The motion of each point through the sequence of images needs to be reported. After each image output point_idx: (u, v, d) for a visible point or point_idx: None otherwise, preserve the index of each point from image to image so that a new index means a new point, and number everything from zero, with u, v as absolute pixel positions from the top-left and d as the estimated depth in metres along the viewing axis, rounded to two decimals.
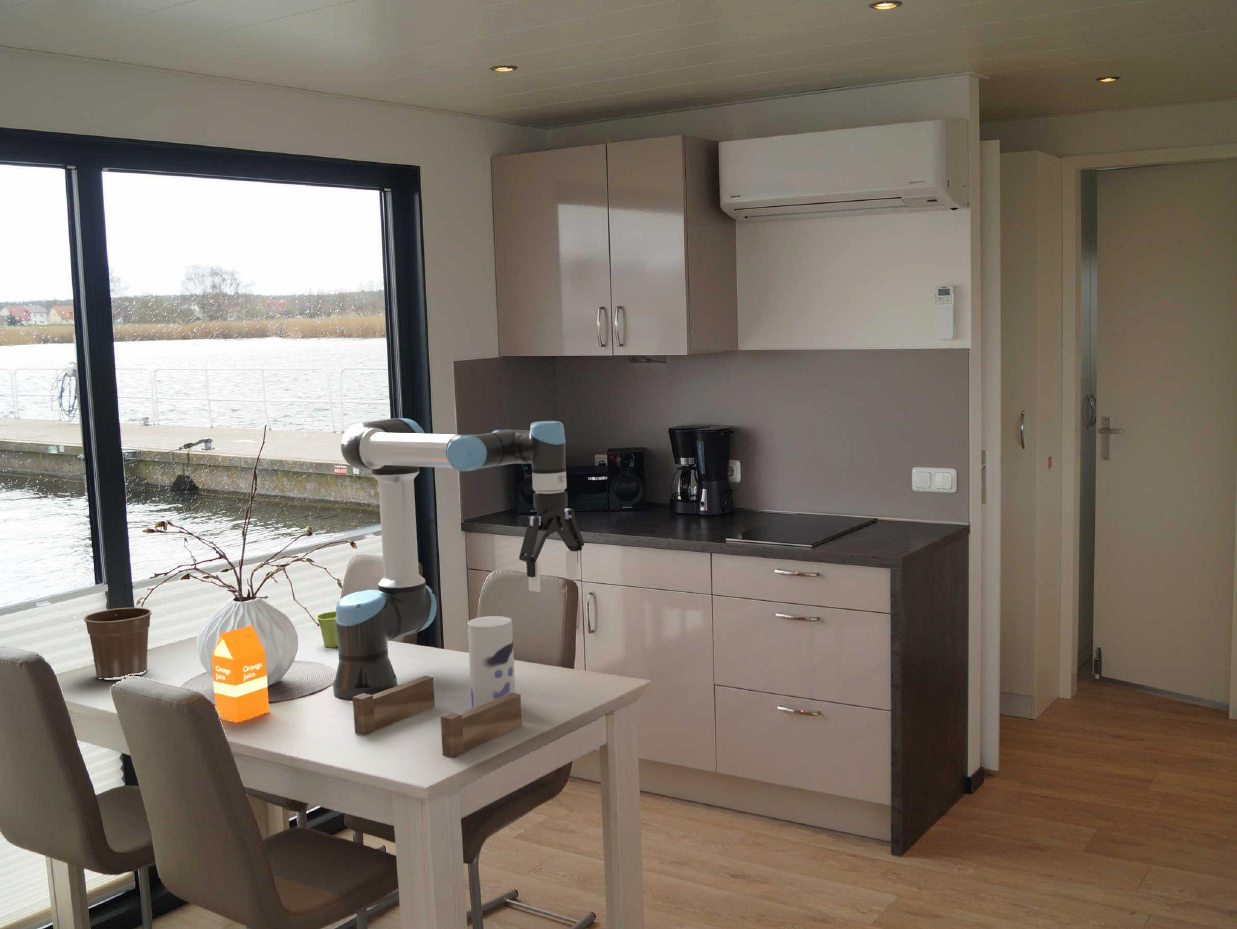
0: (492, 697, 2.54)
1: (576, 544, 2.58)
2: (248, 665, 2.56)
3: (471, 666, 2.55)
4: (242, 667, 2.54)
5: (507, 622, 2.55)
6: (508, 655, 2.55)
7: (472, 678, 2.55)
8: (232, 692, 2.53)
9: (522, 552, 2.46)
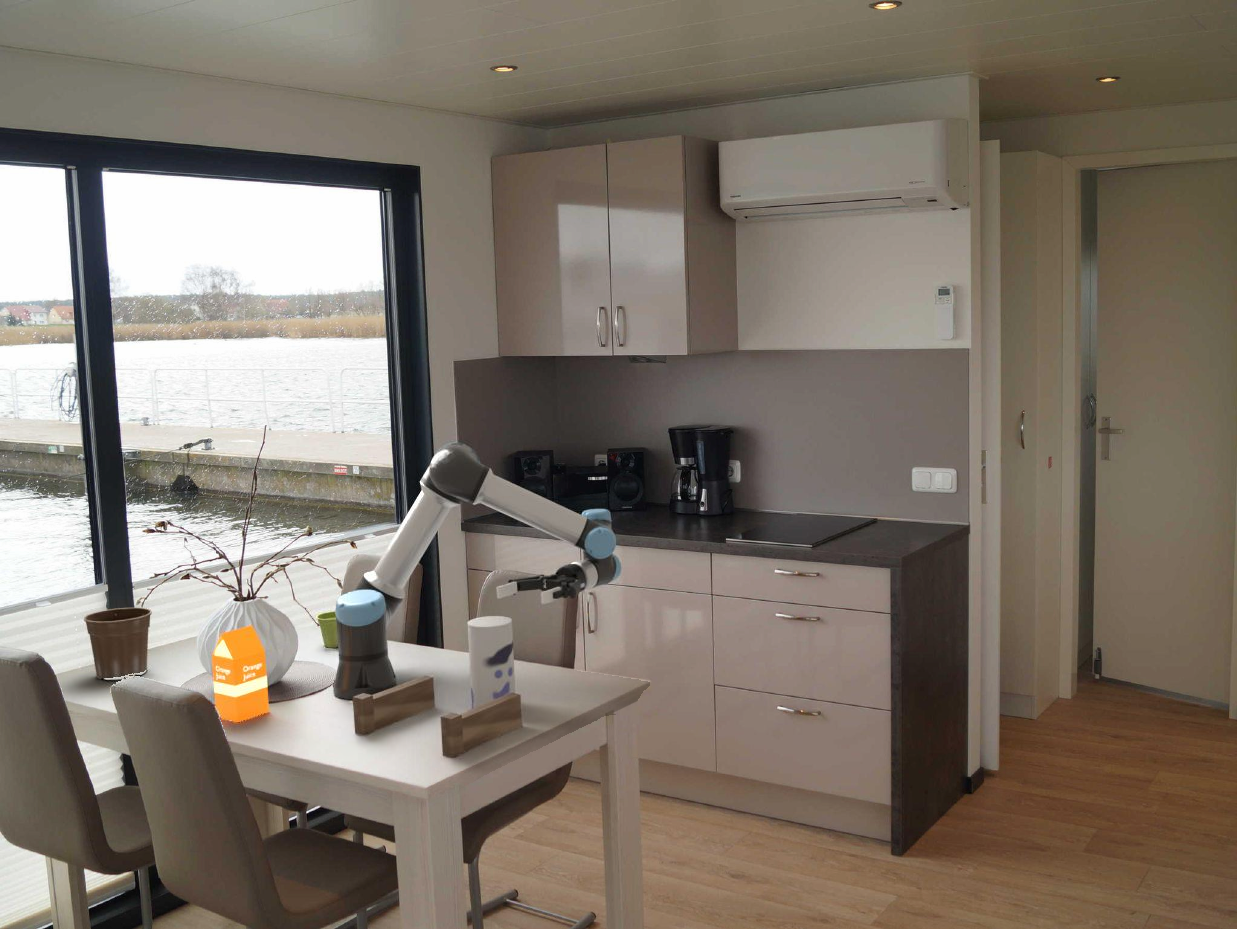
0: (492, 697, 2.54)
1: None
2: (248, 665, 2.56)
3: (471, 666, 2.55)
4: (242, 667, 2.54)
5: (507, 622, 2.55)
6: (508, 655, 2.55)
7: (472, 678, 2.55)
8: (232, 692, 2.53)
9: (575, 589, 2.66)
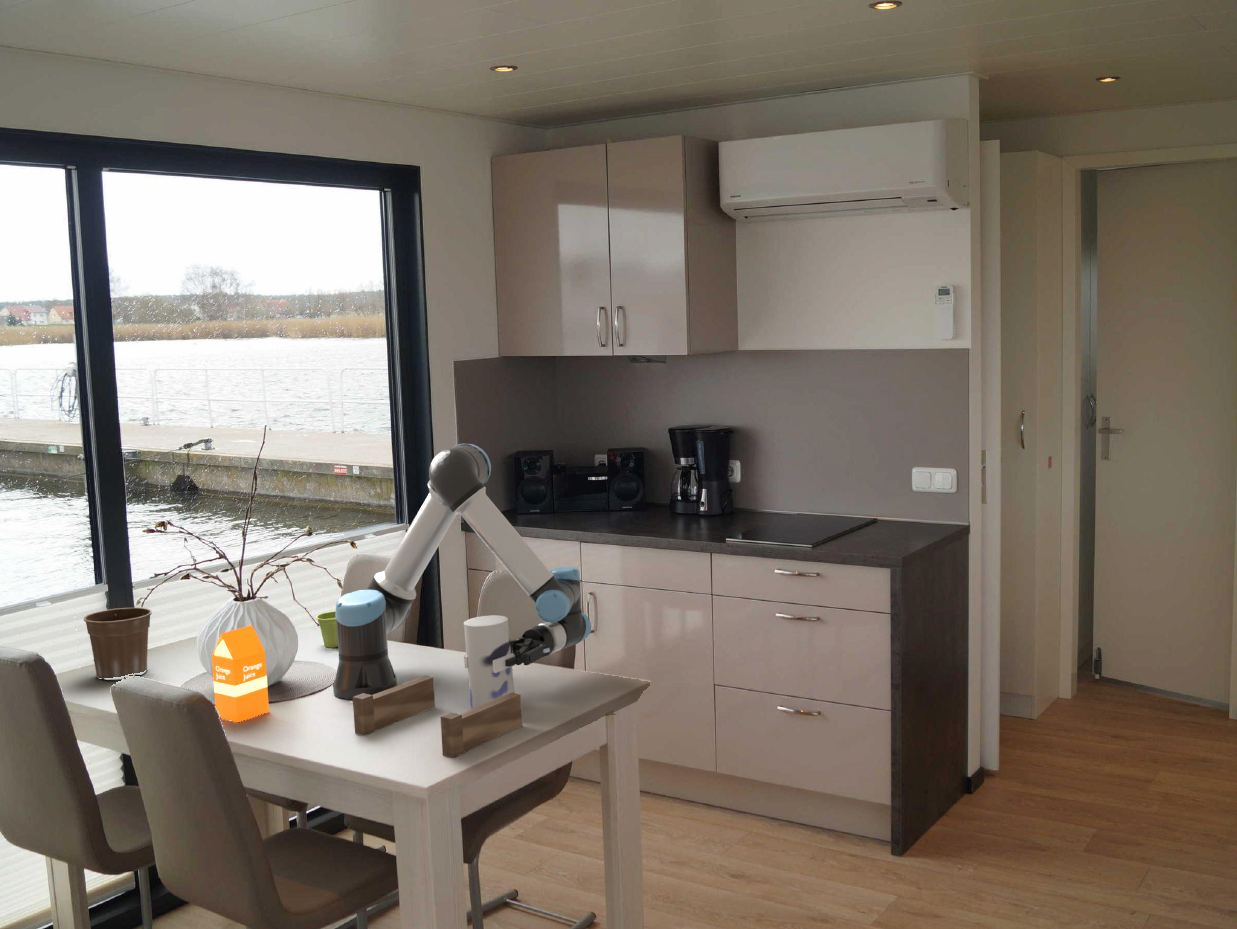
0: (490, 696, 2.54)
1: None
2: (248, 665, 2.56)
3: (469, 666, 2.55)
4: (242, 667, 2.54)
5: (503, 621, 2.55)
6: (505, 654, 2.55)
7: (470, 678, 2.55)
8: (232, 692, 2.53)
9: (530, 655, 2.56)
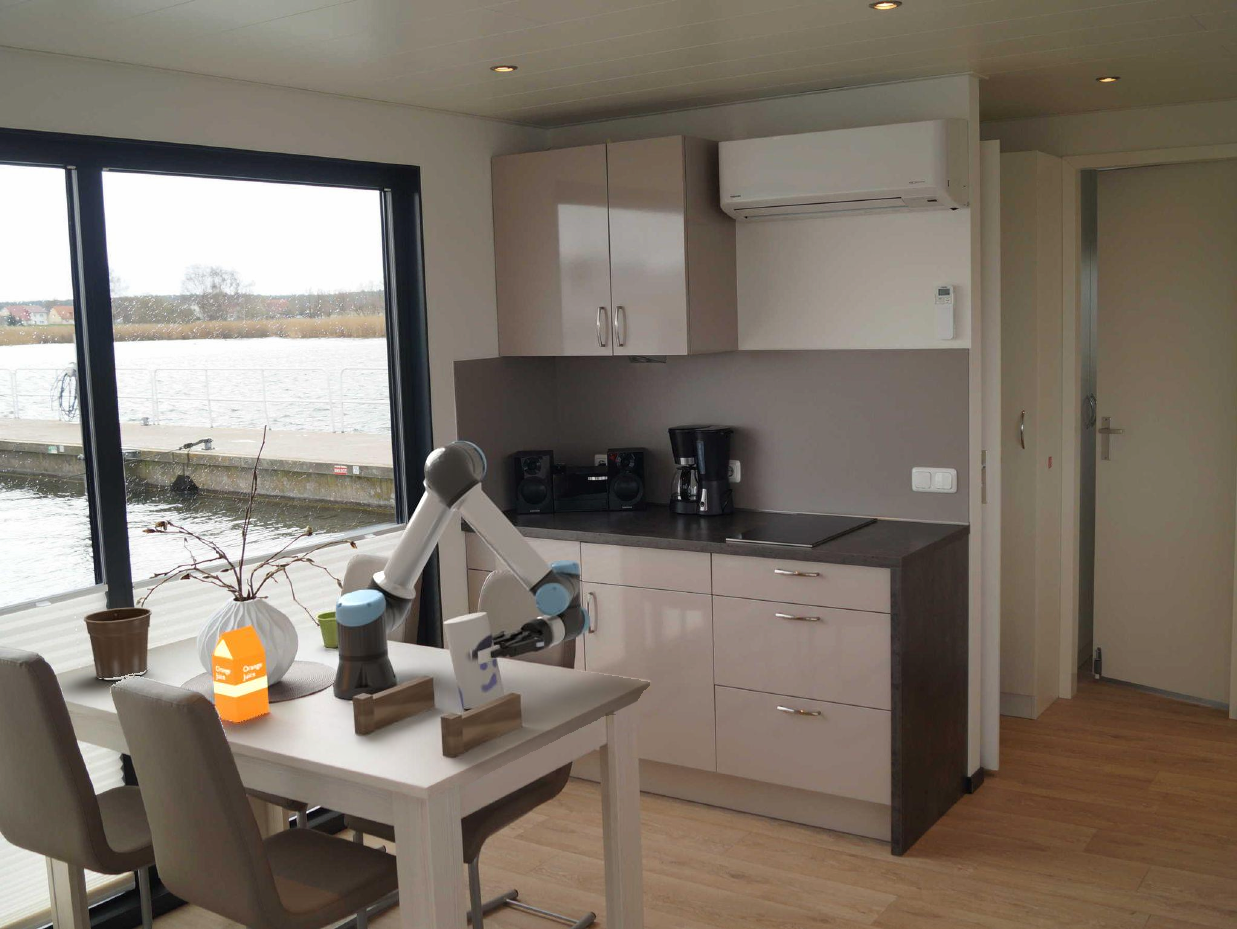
0: (481, 690, 2.54)
1: None
2: (248, 665, 2.56)
3: (455, 664, 2.56)
4: (242, 667, 2.54)
5: (483, 614, 2.57)
6: (489, 646, 2.56)
7: (458, 676, 2.56)
8: (232, 692, 2.53)
9: (516, 647, 2.57)
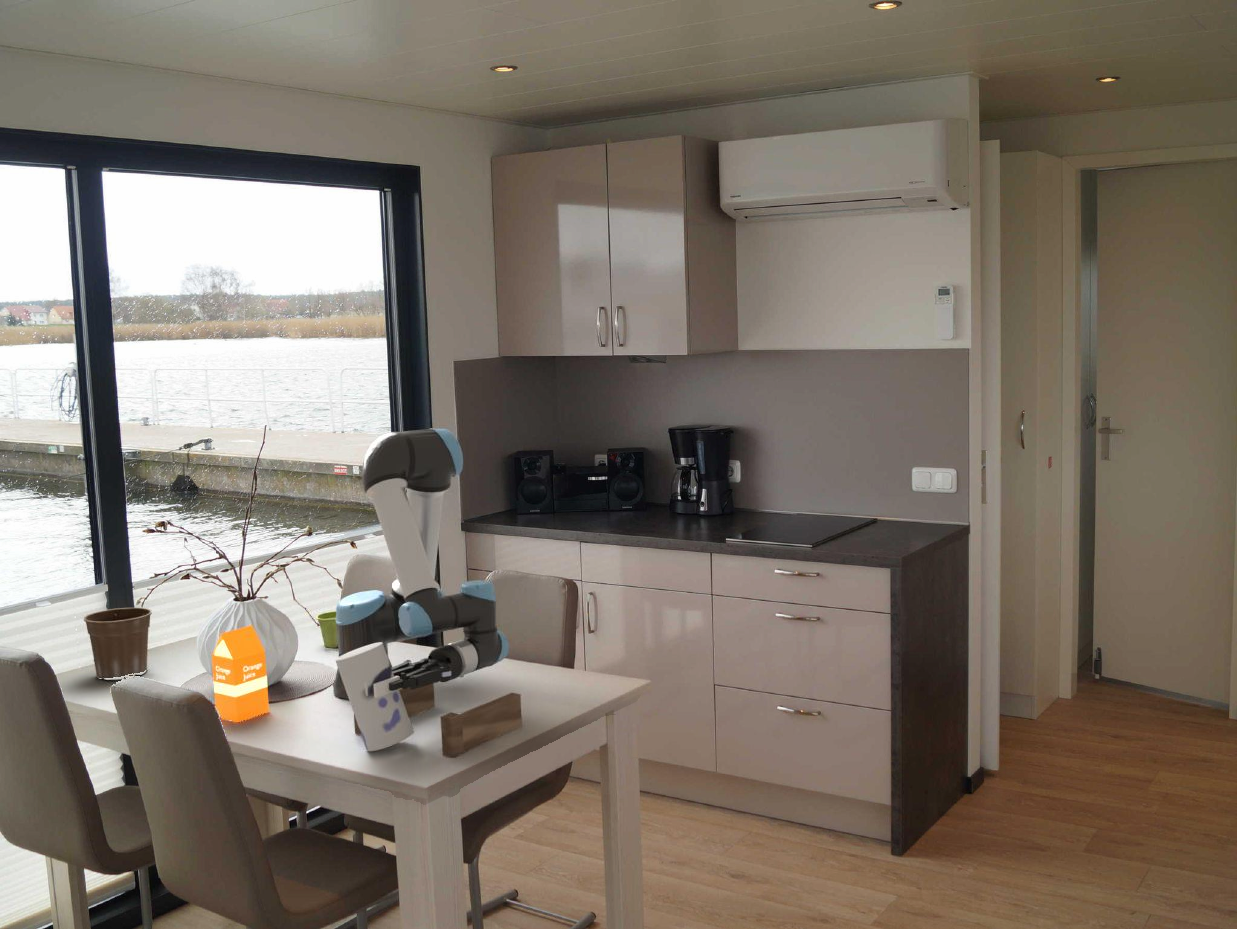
0: (383, 730, 2.29)
1: None
2: (248, 665, 2.56)
3: (352, 704, 2.31)
4: (242, 667, 2.54)
5: (377, 645, 2.32)
6: None
7: (357, 717, 2.31)
8: (232, 692, 2.53)
9: (418, 678, 2.32)
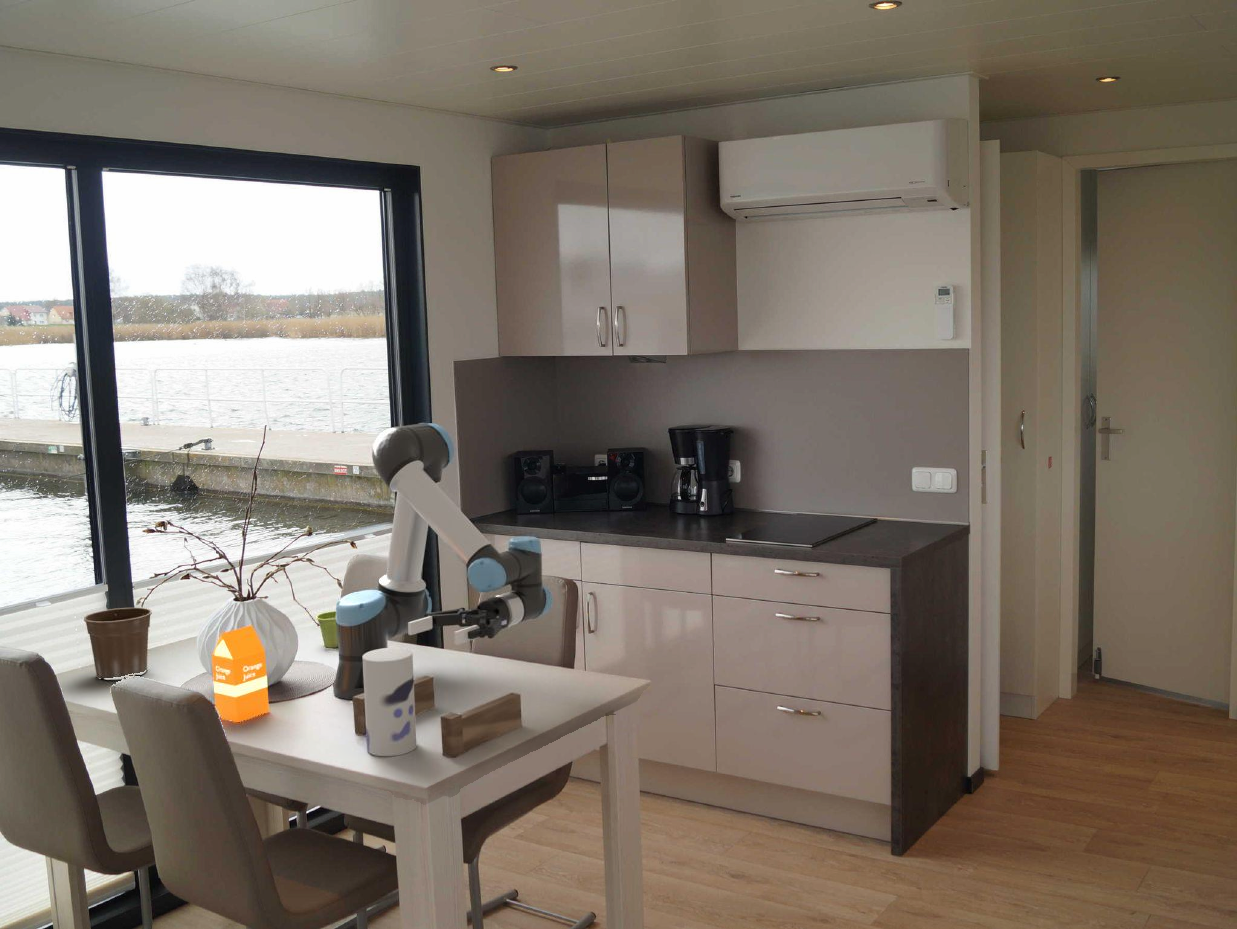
0: (390, 739, 2.29)
1: None
2: (248, 665, 2.56)
3: (367, 705, 2.30)
4: (242, 667, 2.54)
5: (407, 655, 2.30)
6: (408, 692, 2.30)
7: (368, 718, 2.30)
8: (232, 692, 2.53)
9: (494, 628, 2.42)
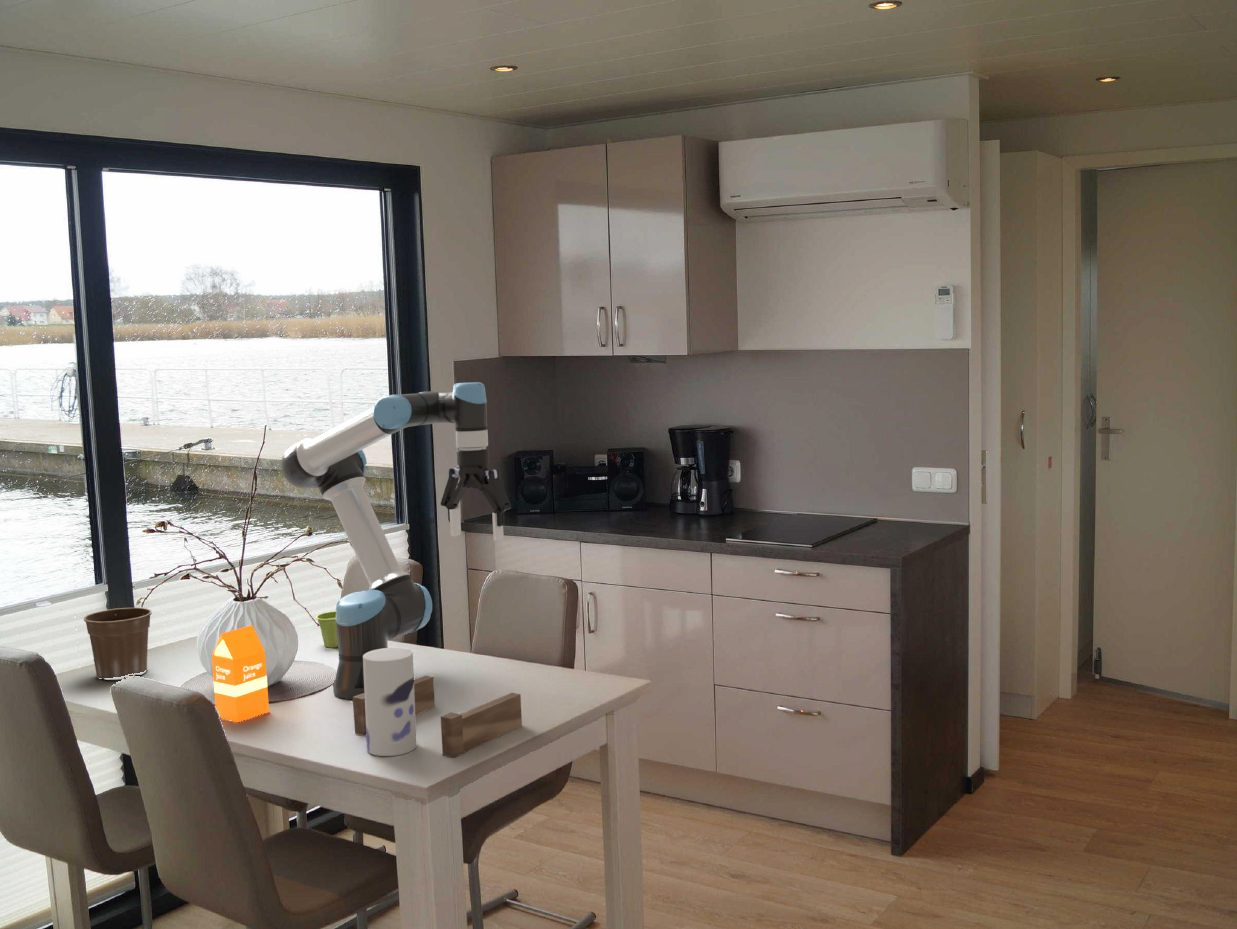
0: (391, 739, 2.29)
1: None
2: (248, 665, 2.56)
3: (367, 705, 2.30)
4: (242, 667, 2.54)
5: (408, 655, 2.31)
6: (409, 691, 2.30)
7: (368, 718, 2.30)
8: (232, 692, 2.53)
9: (504, 502, 2.62)
